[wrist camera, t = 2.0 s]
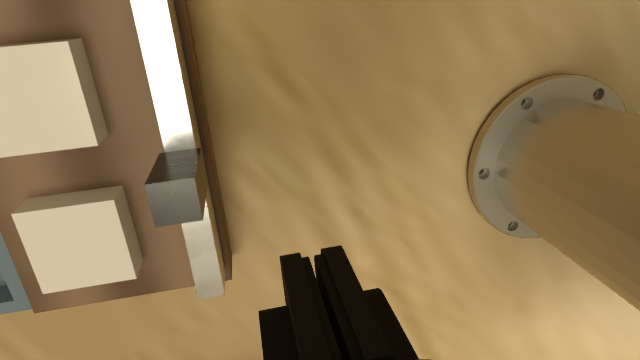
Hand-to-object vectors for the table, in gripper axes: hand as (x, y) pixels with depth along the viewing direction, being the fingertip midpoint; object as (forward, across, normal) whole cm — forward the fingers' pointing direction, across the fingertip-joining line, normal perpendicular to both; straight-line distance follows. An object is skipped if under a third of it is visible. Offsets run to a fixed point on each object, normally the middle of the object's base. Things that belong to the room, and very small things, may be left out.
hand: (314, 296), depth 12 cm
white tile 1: (+15, +11, -4) cm, 19 cm away
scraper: (+14, +4, 0) cm, 15 cm away
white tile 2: (+15, +11, +4) cm, 19 cm away
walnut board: (+18, +9, 0) cm, 20 cm away
